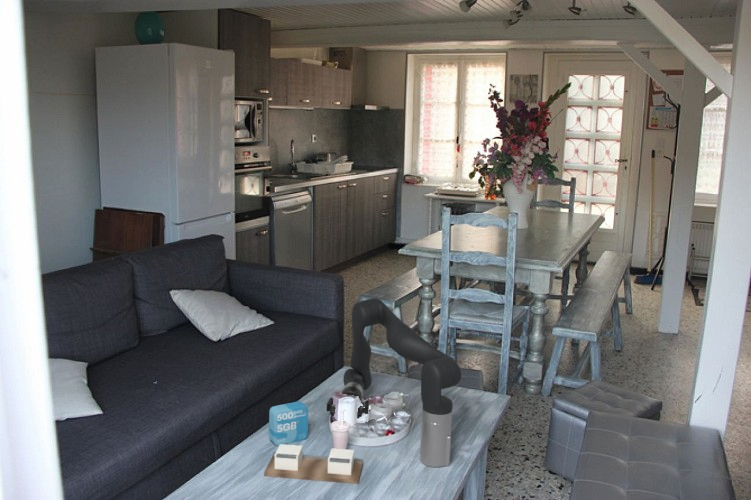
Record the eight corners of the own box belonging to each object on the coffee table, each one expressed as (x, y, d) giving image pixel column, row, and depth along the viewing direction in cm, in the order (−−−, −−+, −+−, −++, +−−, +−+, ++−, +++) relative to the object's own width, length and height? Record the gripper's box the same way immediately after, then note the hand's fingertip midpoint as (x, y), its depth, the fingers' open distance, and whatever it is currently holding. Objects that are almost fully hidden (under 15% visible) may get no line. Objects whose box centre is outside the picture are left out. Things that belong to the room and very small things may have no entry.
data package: (274, 447, 223) (274, 412, 221) (268, 441, 227) (269, 406, 225) (307, 439, 230) (308, 405, 227) (302, 433, 233) (302, 400, 231)
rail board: (362, 464, 214) (363, 446, 213) (358, 483, 203) (358, 465, 201) (273, 456, 217) (274, 439, 216) (264, 476, 205) (264, 458, 204)
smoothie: (342, 459, 217) (343, 417, 214) (325, 454, 220) (327, 412, 217) (353, 451, 222) (355, 410, 219) (337, 446, 225) (338, 405, 223)
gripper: (332, 384, 245) (324, 402, 229) (372, 387, 244) (367, 405, 228) (331, 404, 247) (323, 423, 231) (371, 407, 245) (366, 427, 229)
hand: (345, 414), depth 229 cm, fingers open, 8 cm apart
